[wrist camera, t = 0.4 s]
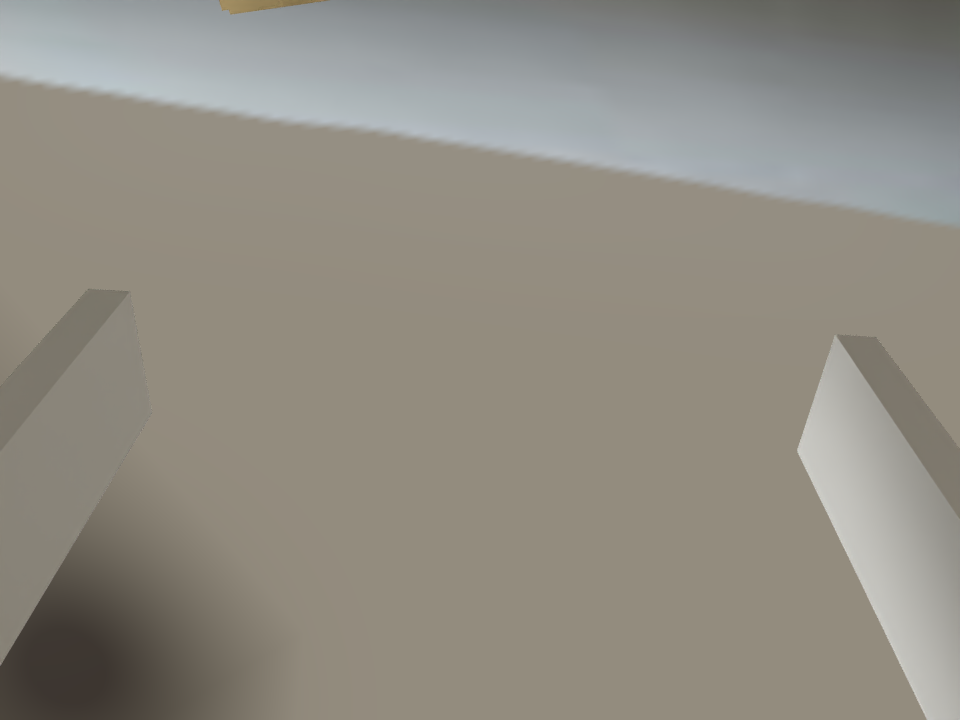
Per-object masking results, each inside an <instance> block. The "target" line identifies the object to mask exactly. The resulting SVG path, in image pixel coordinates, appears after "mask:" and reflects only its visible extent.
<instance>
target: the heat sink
mask: <svg viewBox="0 0 960 720" xmlns="http://www.w3.org/2000/svg"><path fill="white" fill-rule="evenodd" d="M219 1H220V5H221V8H222V11H223V10H229V12H230V14H237V13H244V12H251V11H258V10H265V9H272V8H279V7H286V6H293V5H300V4H307V3H314V2H321V1H328V0H219Z"/></svg>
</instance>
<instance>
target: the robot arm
mask: <svg viewBox="0 0 960 720" xmlns="http://www.w3.org/2000/svg"><path fill="white" fill-rule="evenodd" d="M151 414H152V409H151V404H150V399H149V393H148V388H147V382H146V376H145V371H144V366H143V360H142V354H141V349H140V343H139V338H138V332H137V327H136V321H135V316H134V310H133V305H132V300H131V294H130V291H115V290H99V289H88V290H87V291H86V292H85V293H84V294H83V295H82V296H81V298H80V299H79V300H78V301H77V302H76V303H75V304H74V305H73V306H72V308H71V309H70V310H69V311H68V312H67V313H66V314H65V315H64V316H63V318H61V320H60V321H59V322H58V323H57V324H56V325H55V326H54V327H53V329H52V330H51V331H50V332H49V333H48V334H47V335H46V336H45V337H44V338H43V340H42V341H41V342H40V343H39V344H38V345H37V346H36V347H35V348H34V349H33V351H32V352H31V353H30V354H29V355H28V356H27V357H26V358H25V359H24V361H23V362H22V363H21V364H20V365H19V366H18V367H17V368H16V369H15V371H14V372H13V373H12V374H11V375H10V376H9V377H8V378H7V379H6V380H5V381H4V383H3V384H2V385H1V386H0V665H1V663H2V662H3V660H4V658H5V657H6V655H7V653H8V652H9V650H10V648H11V647H12V645H13V643H14V642H15V640H16V638H17V637H18V635H19V633H20V632H21V630H22V628H23V627H24V625H25V624H26V622H27V620H28V619H29V617H30V615H31V614H32V612H33V610H34V609H35V607H36V605H37V604H38V602H39V600H40V599H41V597H42V595H43V593H44V592H45V590H46V588H47V587H48V585H49V584H50V582H51V580H52V579H53V577H54V575H55V573H56V572H57V570H58V569H59V567H60V565H61V564H62V562H63V560H64V558H65V557H66V555H67V554H68V552H69V550H70V549H71V547H72V545H73V544H74V542H75V540H76V539H77V537H78V535H79V534H80V532H81V530H82V529H83V527H84V525H85V524H86V522H87V520H88V519H89V517H90V515H91V513H92V512H93V510H94V509H95V507H96V505H97V504H98V502H99V500H100V499H101V497H102V495H103V494H104V492H105V490H106V489H107V487H108V485H109V484H110V482H111V480H112V479H113V477H114V475H115V474H116V472H117V470H118V469H119V467H120V465H121V464H122V462H123V460H124V459H125V457H126V455H127V454H128V452H129V450H130V449H131V447H132V445H133V444H134V442H135V440H136V439H137V437H138V436H139V434H140V432H141V431H142V429H143V427H144V426H145V424H146V422H147V421H148V419H149V417H150V415H151ZM797 452H798V454H799V456H800V458H801V460H802V462H803V464H804V466H805V468H806V470H807V472H808V474H809V476H810V478H811V481H812V483H813V485H814V487H815V489H816V491H817V493H818V495H819V497H820V499H821V501H822V503H823V505H824V507H825V510H826V511H827V514H828V516H829V518H830V520H831V522H832V524H833V526H834V528H835V530H836V532H837V534H838V536H839V539H840V541H841V543H842V545H843V547H844V549H845V551H846V553H847V555H848V557H849V559H850V561H851V563H852V565H853V568H854V570H855V572H856V573H857V576H858V578H859V580H860V582H861V584H862V586H863V588H864V590H865V592H866V594H867V596H868V598H869V601H870V602H871V605H872V607H873V609H874V611H875V613H876V615H877V617H878V619H879V621H880V623H881V625H882V628H883V630H884V632H885V633H886V636H887V638H888V640H889V642H890V644H891V646H892V648H893V650H894V652H895V654H896V656H897V659H898V661H899V663H900V665H901V667H902V669H903V671H904V673H905V675H906V677H907V679H908V681H909V683H910V685H911V688H912V689H913V692H914V693H915V696H916V698H917V700H918V702H919V704H920V706H921V708H922V710H923V712H924V714H925V716H926V718H927V720H960V448H959V447H958V446H957V444H956V443H955V442H954V440H953V439H952V438H951V436H950V435H949V434H948V432H947V431H946V430H945V429H944V427H943V426H942V424H941V423H940V422H939V420H938V419H937V418H936V416H935V415H934V414H933V412H932V411H931V410H930V408H929V407H928V406H927V404H926V403H925V402H924V401H923V399H922V398H921V396H920V395H919V394H918V392H917V391H916V390H915V388H914V387H913V386H912V384H911V383H910V382H909V380H908V379H907V378H906V376H905V375H904V374H903V372H902V371H901V370H900V368H899V367H898V366H897V364H896V363H895V362H894V360H893V359H892V358H891V356H890V355H889V354H888V352H887V351H886V350H885V348H884V347H883V346H882V344H881V343H880V342H879V341H878V339H877V338H876V337H866V336H850V335H835V337H834V341H833V343H832V347H831V349H830V352H829V356H828V359H827V362H826V365H825V368H824V371H823V374H822V377H821V380H820V383H819V386H818V389H817V392H816V395H815V398H814V401H813V404H812V407H811V411H810V413H809V417H808V420H807V422H806V426H805V429H804V432H803V435H802V438H801V441H800V444H799V447H798V450H797Z"/></svg>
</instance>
